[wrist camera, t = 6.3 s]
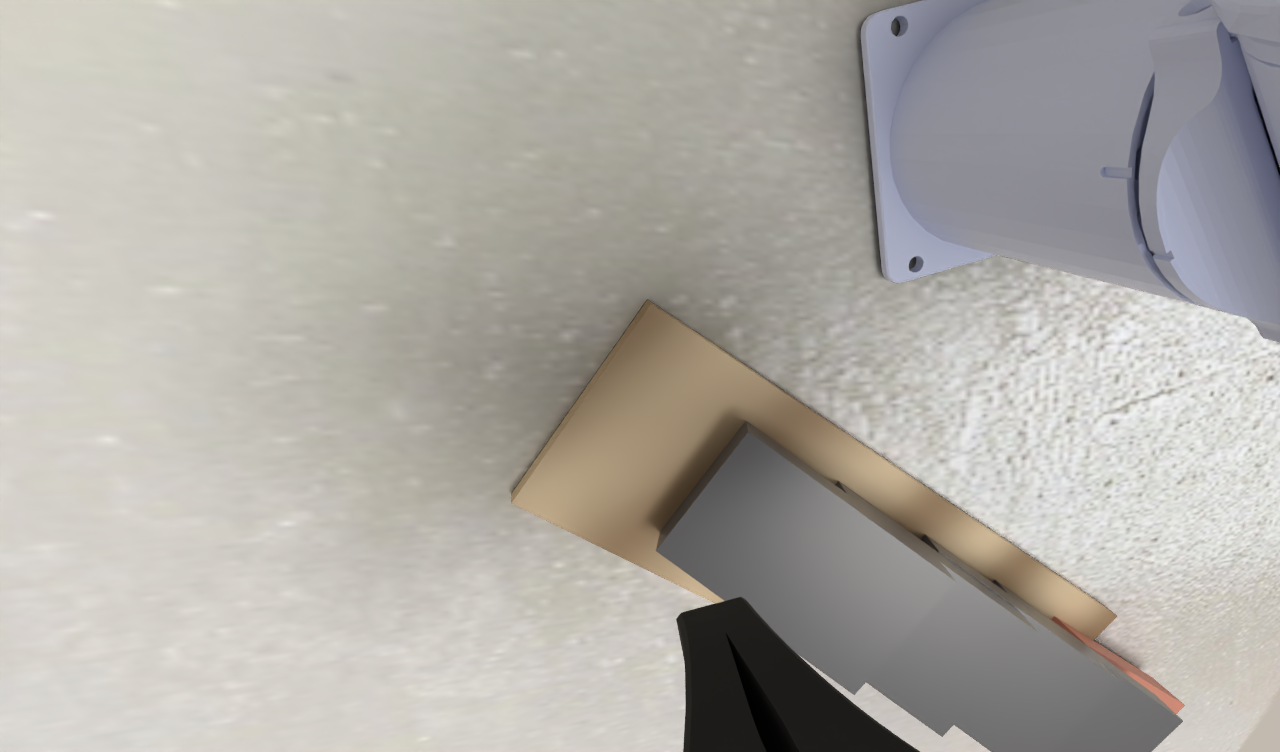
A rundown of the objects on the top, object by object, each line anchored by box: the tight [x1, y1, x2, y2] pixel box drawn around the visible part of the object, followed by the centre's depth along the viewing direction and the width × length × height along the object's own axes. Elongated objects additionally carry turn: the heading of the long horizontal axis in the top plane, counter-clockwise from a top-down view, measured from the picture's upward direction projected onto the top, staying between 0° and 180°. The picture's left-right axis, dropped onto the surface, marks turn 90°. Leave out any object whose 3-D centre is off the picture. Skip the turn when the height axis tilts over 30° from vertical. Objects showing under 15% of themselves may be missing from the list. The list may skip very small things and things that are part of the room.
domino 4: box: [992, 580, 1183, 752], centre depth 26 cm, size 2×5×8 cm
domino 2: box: [835, 481, 1040, 737], centre depth 23 cm, size 2×5×8 cm
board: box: [511, 299, 1117, 641], centre depth 25 cm, size 26×8×1 cm, turn 54°
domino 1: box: [656, 421, 956, 695], centre depth 21 cm, size 2×5×8 cm
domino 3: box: [921, 534, 1120, 752], centre depth 25 cm, size 2×5×8 cm
